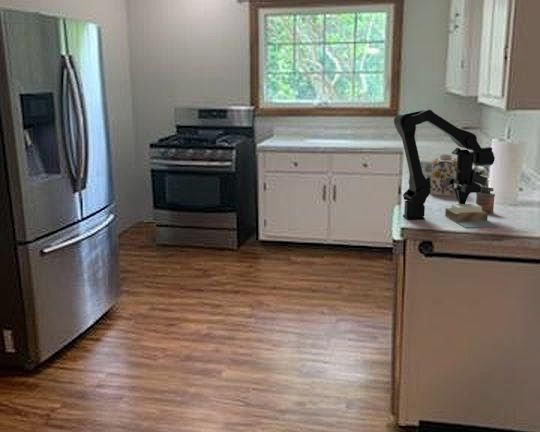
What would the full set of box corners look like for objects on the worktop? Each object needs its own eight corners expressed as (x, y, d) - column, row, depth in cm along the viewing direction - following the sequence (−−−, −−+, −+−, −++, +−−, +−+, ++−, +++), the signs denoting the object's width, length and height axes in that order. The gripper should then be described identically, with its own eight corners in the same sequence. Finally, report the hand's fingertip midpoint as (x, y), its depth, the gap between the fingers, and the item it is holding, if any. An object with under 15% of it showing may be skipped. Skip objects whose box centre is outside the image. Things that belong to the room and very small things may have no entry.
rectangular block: (457, 212, 215) (458, 207, 214) (451, 209, 221) (451, 204, 220) (481, 212, 216) (481, 206, 215) (474, 208, 221) (475, 203, 221)
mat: (465, 228, 205) (465, 227, 205) (455, 222, 213) (455, 221, 213) (498, 227, 206) (498, 226, 205) (487, 221, 214) (487, 220, 214)
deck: (455, 222, 213) (455, 214, 213) (445, 216, 223) (445, 208, 222) (487, 221, 214) (487, 213, 214) (475, 215, 224) (476, 207, 223)
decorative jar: (456, 197, 260) (459, 156, 256) (429, 195, 263) (431, 155, 259) (457, 192, 271) (459, 153, 267) (431, 191, 274) (433, 152, 270)
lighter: (472, 210, 233) (474, 185, 231) (478, 209, 235) (480, 184, 232) (489, 214, 226) (491, 188, 224) (495, 213, 228) (497, 187, 226)
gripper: (497, 169, 210) (493, 211, 214) (474, 162, 228) (471, 201, 232) (467, 170, 209) (464, 212, 213) (446, 163, 227) (444, 202, 231)
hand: (461, 207), depth 222 cm, fingers closed
